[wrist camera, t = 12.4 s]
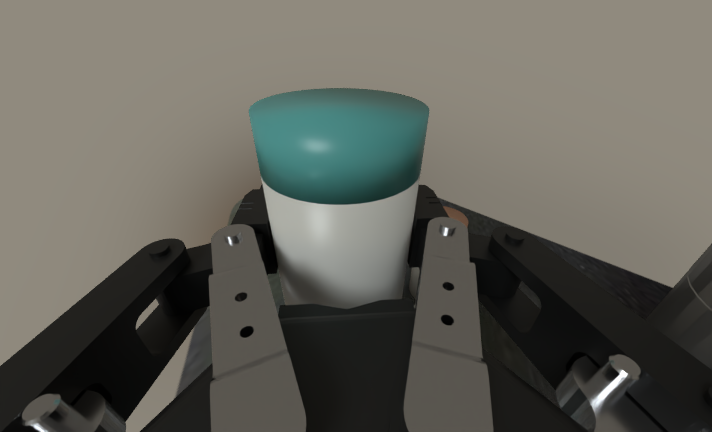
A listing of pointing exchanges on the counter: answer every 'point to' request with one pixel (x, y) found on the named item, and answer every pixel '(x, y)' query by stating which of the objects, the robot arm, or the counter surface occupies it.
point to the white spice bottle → (415, 270)
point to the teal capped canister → (340, 190)
